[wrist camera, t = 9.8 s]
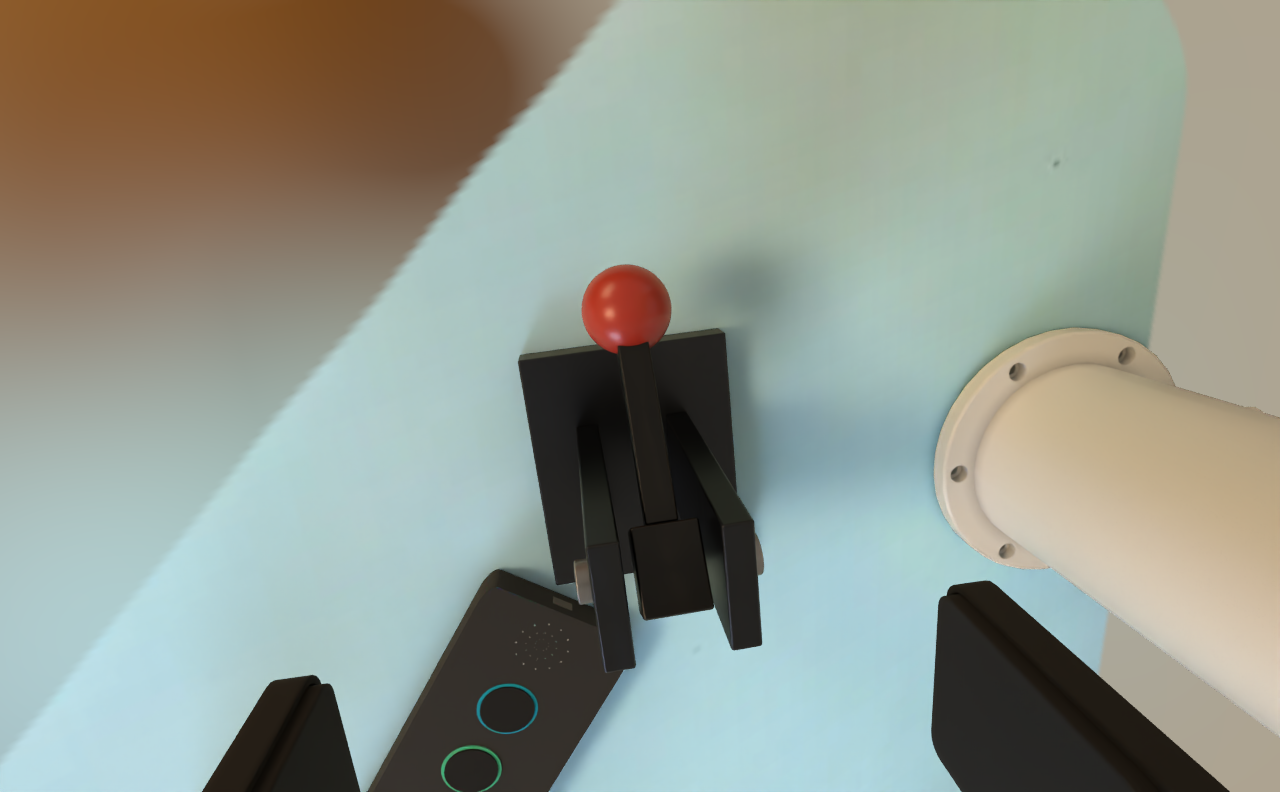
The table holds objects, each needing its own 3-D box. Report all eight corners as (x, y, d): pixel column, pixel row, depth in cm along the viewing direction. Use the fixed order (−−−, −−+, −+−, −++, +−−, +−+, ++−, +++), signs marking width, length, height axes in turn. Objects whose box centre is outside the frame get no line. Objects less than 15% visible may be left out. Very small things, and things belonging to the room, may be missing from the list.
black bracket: (519, 354, 29) (494, 451, 18) (719, 327, 30) (817, 404, 18) (556, 572, 32) (555, 771, 21) (735, 543, 33) (827, 720, 22)
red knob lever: (578, 292, 25) (573, 254, 22) (660, 281, 25) (666, 242, 22) (625, 616, 22) (627, 625, 19) (716, 600, 23) (733, 607, 20)
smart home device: (643, 647, 32) (463, 935, 36) (638, 625, 34) (468, 902, 37) (485, 583, 30) (313, 895, 34) (489, 563, 32) (325, 863, 35)
